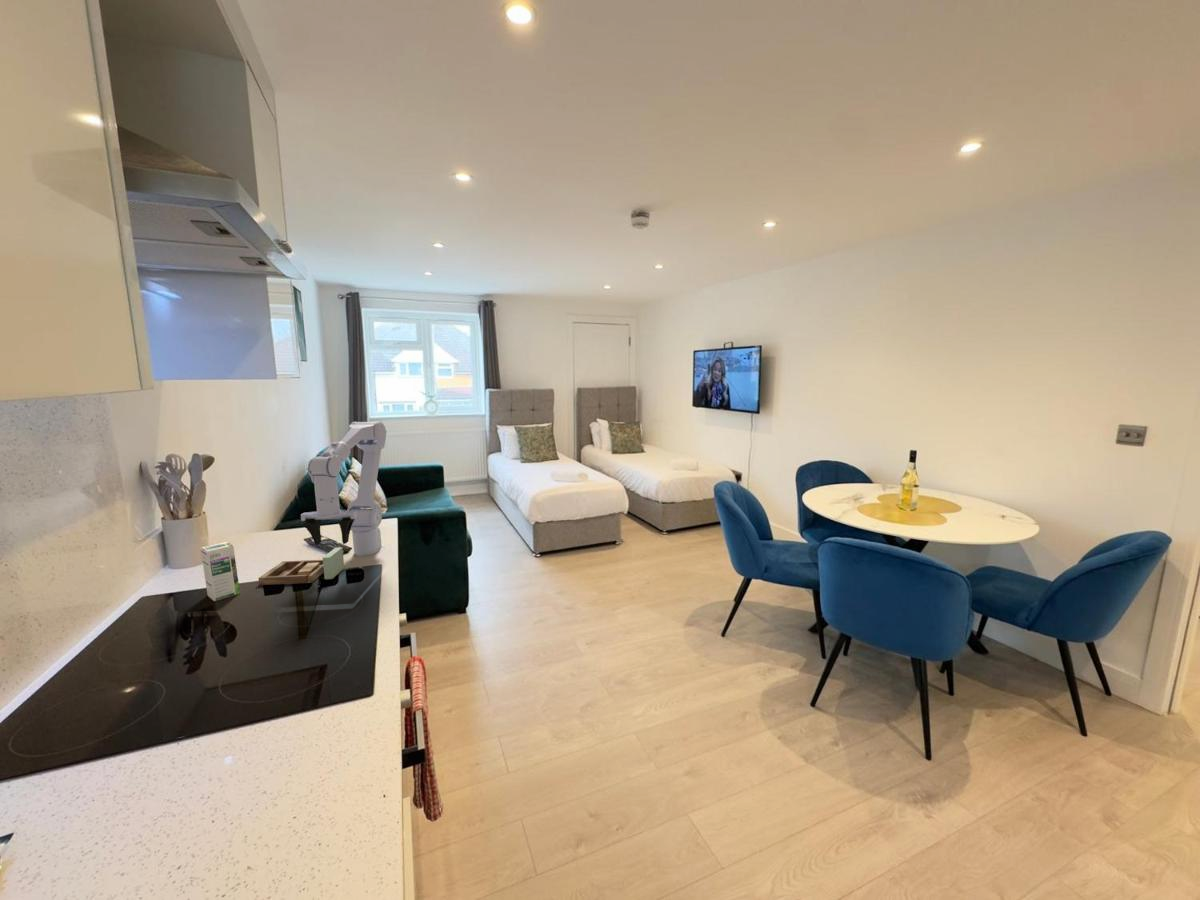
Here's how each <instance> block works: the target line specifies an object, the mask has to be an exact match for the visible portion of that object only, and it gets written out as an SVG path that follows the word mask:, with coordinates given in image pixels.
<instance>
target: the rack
mask: <svg viewBox="0 0 1200 900" xmlns="http://www.w3.org/2000/svg"><path fill="white" fill-rule="evenodd" d="M317 562H320V565H321V566H320V567H319V568H317V569H316V570H315V571H314V572H313V573H311V574H310V575H309V576H308V577H309V579H308V577H307V575H298V571H299V570H301V569H302V568H303V567H304V566H305V565H306V564H307V563H317ZM321 575H324V566H323V559H307V560H306V559H305V560H285V561H284V560H283V561H281V562H280V563H278V564H277V565H275V566H274V567H273V568H271V569H269V570H268V571H266V572H265V573H264V574H262V575H260V576H259V577H258V585H259V586H268V585H270V586H271V585H289V584H291V585H292V584H311V583H314V582H315V581H316V580H317V579H318V578H319V577H321Z"/></svg>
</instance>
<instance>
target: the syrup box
mask: <svg viewBox="0 0 1200 900" xmlns="http://www.w3.org/2000/svg"><path fill="white" fill-rule="evenodd" d="M199 549H200V556H201V561H202V562H201V563H202V567H203V573H204V580H205V586H206V593H207V596H208V598H210V599H211V600H212V601H213V602H217V601H221V600H223V599H226V598H230V597H232V596H236V595H239V594H241V589H240V582H239V577H238V570H237V569H238V568H237V562H236V555H235V548H234V545H233V544H231V542H228V541H224V542H221V543H216V544H211V545H207V546H202V547H201V548H199Z"/></svg>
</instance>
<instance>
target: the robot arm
mask: <svg viewBox="0 0 1200 900" xmlns="http://www.w3.org/2000/svg"><path fill="white" fill-rule="evenodd" d="M347 430H348V431H347V433H346V435H344V436H343V438H342V439H341V440H340V441H332V442H331V443H330V446H328V448H327V449H325V450H324V451H323V452H322V453H321V454H320V455H319V456H313V457H312V458H311V459H310V460H309V461H308V465H307V468H306V470H307V474H308V475H309V476H310V478H311V479H310V480H311V482H312V483H313V484H314V496H315V505H316V511H309V512H303V513H301V514H300V520H301V521H300V522H303V527H305V529H306V530H307V531H308V533H309V534H310V536H311V537H312V541H313V542H314V544H315V546H318V545H319V544H321V543H322V535H321V534H322V533H321V520H340V521H338V525H339V528H340V532H341V540H342V541H341V542H342V544H343V545H346V544H347V543H348V542H349V539H350V534H352V545H353V554H354V555H355V556H357V557H358V556H359V557H363V556H364V557H365V556H370V555H374V554H376V553H377V552H379V549H385V546H384V545H383V546H382V537H381V535H382V533H381V529H380V528H379V526H380V525H381V523H382V520H383V514H382V505H381V504H380V503H379V502H378V501H376V499H375V495H376V487H377V482H378V481H377V480H378V473H379V467H380V461H381V453H382V449H384V448H385V447H386V446H385V444H386V438H387V430H386V426H385V425H384V423H383V422H382V421H352V422H351V423H350V424H349V425H348V429H347ZM355 446H356V447H357V448H359V449H360V450H362V452H363V454H362V455H363V456H362V461H361V462H362V463H361V470H360V473H359V482H358V486H357V487H358V490H357V495H356V498H355V499H353V500H351V502H349V503H348V506H347V510H346V509H344V510H343V509H341V508H340V507H341V506H340V496H339V487H338V478H337V476H338V475H339V474H340V473H341V472H340V471H341V468H342V466H343V463H344V462H345V461H346V460H347V459H348V458H349V457H350V455H351V453H352V452H351V449H352V448H354V447H355ZM304 521H305V522H304Z"/></svg>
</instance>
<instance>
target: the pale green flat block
mask: <svg viewBox="0 0 1200 900" xmlns="http://www.w3.org/2000/svg"><path fill="white" fill-rule="evenodd" d="M322 560H323V566H324V573H323V575H324V580H333V579H335V577H336V576H337V575H338V574H339V573H340V572H341V571H343V570H344V569H345V561H344V550H343V547H334V548H333V549H332V550H330V551H329V552H328V553H327V554H325V555H324V556H323V557H322Z"/></svg>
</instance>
